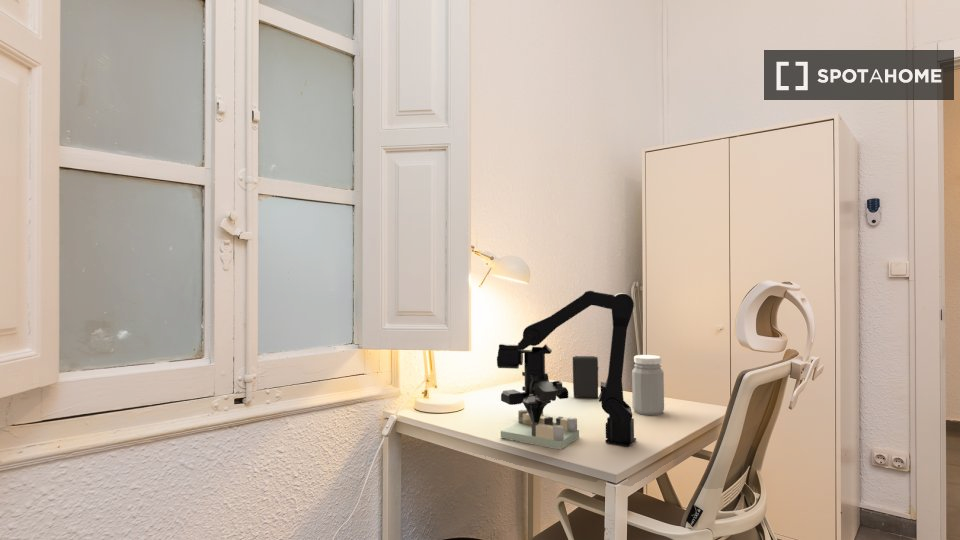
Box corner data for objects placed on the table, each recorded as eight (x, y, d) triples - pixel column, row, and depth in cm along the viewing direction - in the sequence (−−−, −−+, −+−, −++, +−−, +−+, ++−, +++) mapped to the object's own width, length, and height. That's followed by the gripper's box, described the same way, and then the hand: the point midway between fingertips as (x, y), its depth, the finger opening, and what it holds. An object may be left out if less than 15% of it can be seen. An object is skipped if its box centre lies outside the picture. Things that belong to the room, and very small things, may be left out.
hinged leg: (516, 422, 147) (516, 411, 147) (523, 420, 148) (522, 409, 149) (547, 430, 138) (546, 418, 138) (553, 428, 140) (553, 416, 140)
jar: (662, 409, 167) (661, 354, 167) (666, 416, 158) (664, 359, 158) (632, 407, 170) (631, 354, 170) (633, 415, 160) (632, 358, 160)
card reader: (598, 396, 186) (597, 355, 187) (599, 398, 182) (598, 357, 183) (573, 395, 188) (572, 355, 188) (573, 398, 184) (572, 357, 184)
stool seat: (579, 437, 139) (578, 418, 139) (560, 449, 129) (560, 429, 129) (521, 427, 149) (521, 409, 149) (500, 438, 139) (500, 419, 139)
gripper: (519, 376, 129) (519, 438, 128) (579, 371, 136) (580, 428, 136) (499, 370, 139) (500, 427, 139) (557, 365, 147) (557, 418, 146)
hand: (535, 425), depth 140 cm, fingers closed
